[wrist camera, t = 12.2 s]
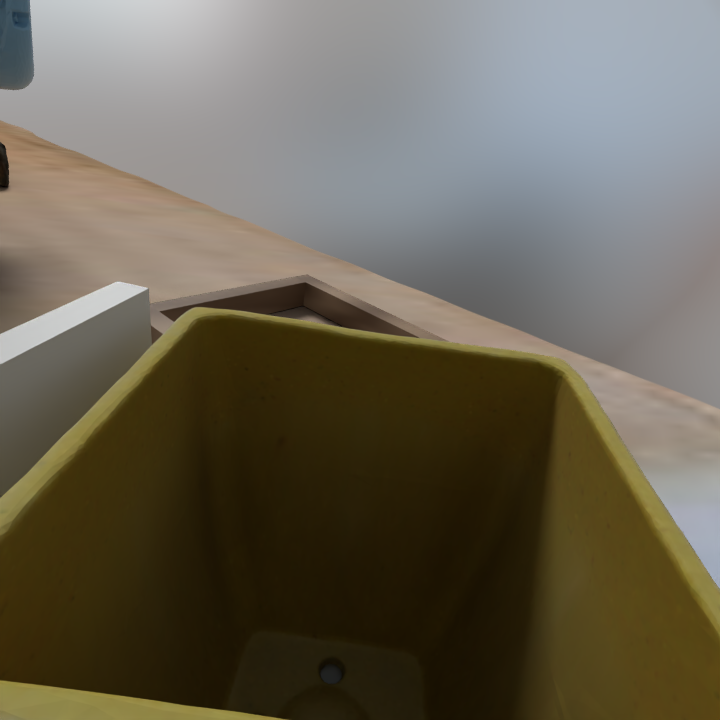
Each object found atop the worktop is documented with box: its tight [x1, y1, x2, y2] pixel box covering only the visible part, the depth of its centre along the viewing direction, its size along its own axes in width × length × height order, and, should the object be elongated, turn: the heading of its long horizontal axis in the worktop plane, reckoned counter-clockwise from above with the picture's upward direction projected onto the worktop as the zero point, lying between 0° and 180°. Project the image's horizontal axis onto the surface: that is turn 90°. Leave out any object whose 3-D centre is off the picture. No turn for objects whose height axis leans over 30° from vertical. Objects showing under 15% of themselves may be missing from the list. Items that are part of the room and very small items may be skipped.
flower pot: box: [0, 307, 720, 720], centre depth 10 cm, size 9×9×9 cm
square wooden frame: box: [150, 275, 449, 344], centre depth 30 cm, size 13×13×2 cm
